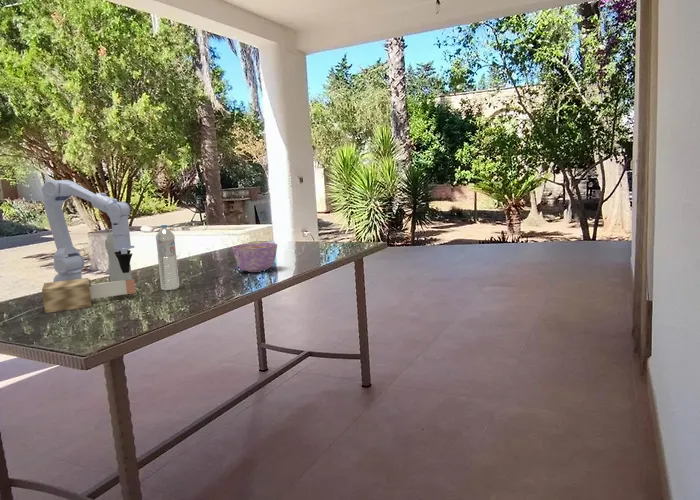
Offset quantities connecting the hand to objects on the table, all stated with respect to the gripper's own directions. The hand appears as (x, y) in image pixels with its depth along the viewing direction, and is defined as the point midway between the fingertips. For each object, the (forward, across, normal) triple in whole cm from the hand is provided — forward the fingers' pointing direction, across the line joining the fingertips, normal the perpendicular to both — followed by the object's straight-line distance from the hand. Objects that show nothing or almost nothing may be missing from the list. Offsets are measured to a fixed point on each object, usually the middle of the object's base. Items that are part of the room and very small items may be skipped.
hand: (125, 271), depth 194 cm
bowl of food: (+9, +16, -55) cm, 58 cm away
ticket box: (+9, -4, +19) cm, 22 cm away
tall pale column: (+10, +33, 0) cm, 34 cm away
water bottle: (+9, +2, -16) cm, 18 cm away
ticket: (+8, -4, +7) cm, 11 cm away
